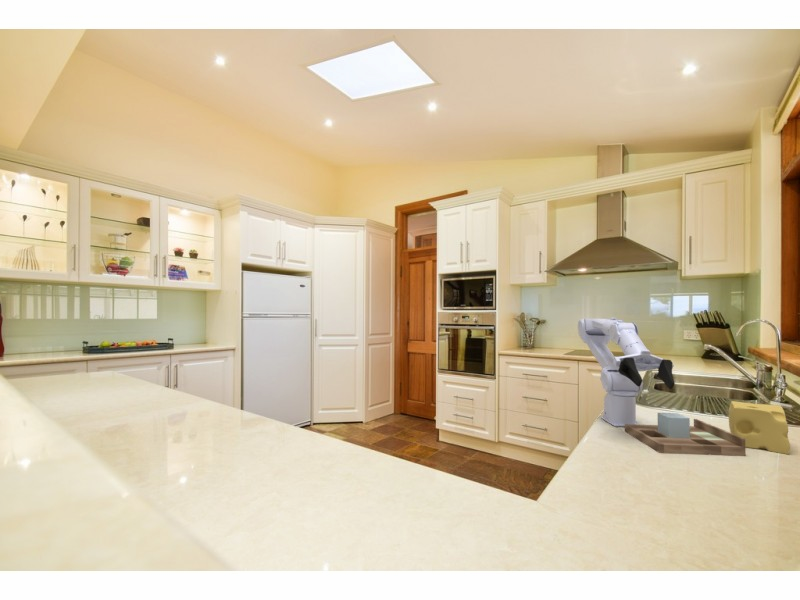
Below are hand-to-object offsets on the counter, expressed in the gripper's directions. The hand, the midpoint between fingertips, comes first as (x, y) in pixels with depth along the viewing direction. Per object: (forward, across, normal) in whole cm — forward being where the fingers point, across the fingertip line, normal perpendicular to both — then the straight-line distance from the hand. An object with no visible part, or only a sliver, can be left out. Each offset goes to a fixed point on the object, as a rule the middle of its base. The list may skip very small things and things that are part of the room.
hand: (655, 384), depth 99 cm
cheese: (+4, +28, +15) cm, 32 cm away
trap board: (+5, +8, +15) cm, 18 cm away
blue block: (+4, +7, +13) cm, 15 cm away
